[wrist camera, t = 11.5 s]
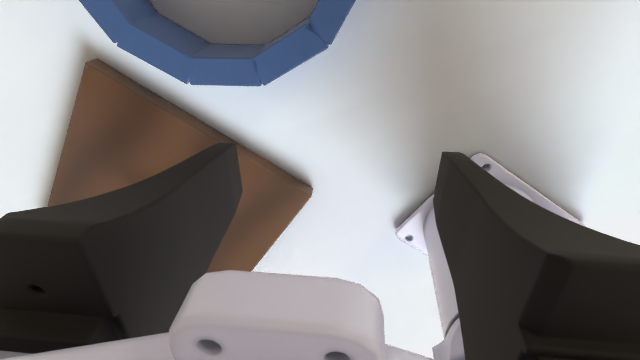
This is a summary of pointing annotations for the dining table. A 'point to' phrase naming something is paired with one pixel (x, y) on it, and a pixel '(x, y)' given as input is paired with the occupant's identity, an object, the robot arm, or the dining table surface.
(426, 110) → the dining table surface
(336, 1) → the blue ring
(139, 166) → the platform
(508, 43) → the dining table surface
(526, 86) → the dining table surface
